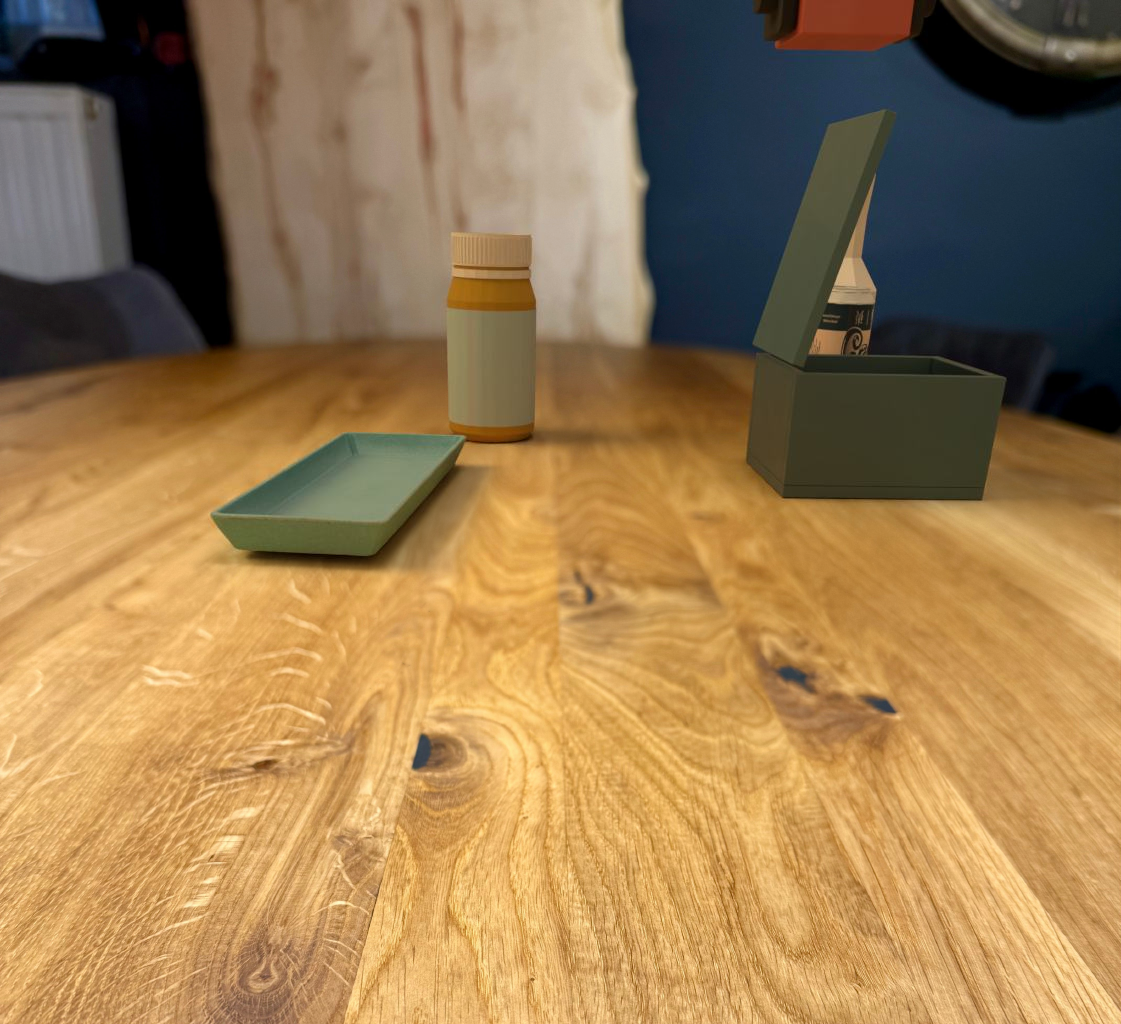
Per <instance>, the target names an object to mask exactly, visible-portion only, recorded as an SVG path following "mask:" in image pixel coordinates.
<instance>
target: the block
mask: <svg viewBox="0 0 1121 1024" xmlns="http://www.w3.org/2000/svg"><path fill="white" fill-rule="evenodd" d="M913 5H914V0H799V10H798V20H797V26H796V29H795V30H793V31H792V32H791V33H790V34H788V35H786V36H785V37H783V38H781V39H779V40H778V41H774V47H775V49H777V50H807V51H850V52H851V51H853V52H856V51H857V52H858V51H859V52H860V51H861V52H866V51H867V52H874V51H877V50H879V49H882V48H884V47H886V46H889V45H891V44H893V43H894V42H896V41H899V40H901V39H903V38H906V37H908V36H909V35H910V28H911V20H912V13H913Z"/></svg>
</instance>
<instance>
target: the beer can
mask: <svg viewBox="0 0 1121 1024" xmlns="http://www.w3.org/2000/svg"><path fill="white" fill-rule="evenodd" d="M874 303H875V304H876V300H875V301H874V298H873V295H872V291H871V288H868V287H857V286H834V287H833V289H832V292H831V295H830V297H829V300H828V303H827V305H826V308H825V311H824V313H823V316H822V319H821V322H820V324H819V327H818V330H817V332H816V335H815V338H814V340H813V343H812V346H811V349H810V351H809V354H844V355H868V350H869V343H870V339H869V337H870V338H871V332H870V330H871V331H872V325H871V323H872V324H873V318H872V316H874V311H873V309H874V310H875V304H874Z"/></svg>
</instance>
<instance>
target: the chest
mask: <svg viewBox="0 0 1121 1024" xmlns="http://www.w3.org/2000/svg"><path fill="white" fill-rule="evenodd" d="M1006 383H1007V377H1005V376H1002V375H998V374H995V373H992V372H989V371H986V370H983V369H980V368H976V367H973V366H970V365H968V364H964V363H961V362H957V361H955V360H952V359H948V358H945V357H942V356H939V355H936V356H935V355H934V356H933V355H895V354H894V355H891V354H890V355H889V354H885V355H883V354H867V355H844V354H808V357H807V359H806V362H805V365H804V367H803V368H802V367H799V366H796V365H793V364H791V363H789V362H787V361H784V360H782V359H780V358H778V357H776V356H774V355H772V354H770V353H768V352H756V355H755V364H754V375H753V384H752V394H751V404H750V414H749V424H748V434H747V445H746V453H745V463H747V464H748V465H749V466H750V467H751V468H752V469H753V470H754V471H755V472H756V473H757V474H758V475H759V476H760V477H761V478H762V479H763V480H764V481H765V482H766V483H767V484H768V485H769V486H770V487H771V488H772V489H773V490H774V491H775V492H776V493H778V494H779V496H781V498H789V499H790V498H791V499H792V498H793V499H794V498H795V499H796V498H797V499H877V500H881V499H886V500H887V499H888V500H889V499H890V500H901V499H902V500H961V501H962V500H963V501H964V500H965V501H967V500H968V501H969V500H970V501H971V500H973V501H974V500H975V501H981V500H983V498H984V494H985V488H986V483H987V478H988V473H989V468H990V463H991V459H992V452H993V448H994V442H995V437H996V433H997V428H998V423H999V419H1000V413H1001V409H1002V402H1003V398H1004V394H1005V387H1006Z"/></svg>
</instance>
